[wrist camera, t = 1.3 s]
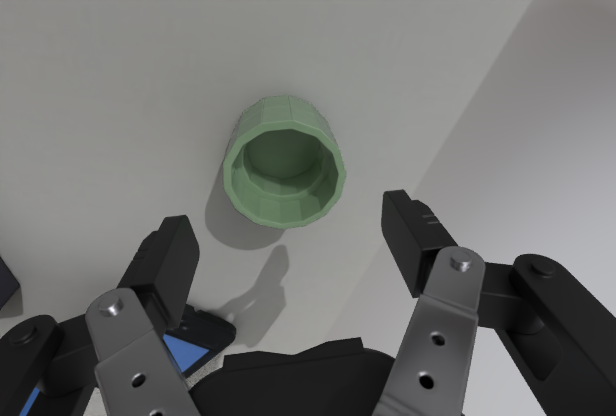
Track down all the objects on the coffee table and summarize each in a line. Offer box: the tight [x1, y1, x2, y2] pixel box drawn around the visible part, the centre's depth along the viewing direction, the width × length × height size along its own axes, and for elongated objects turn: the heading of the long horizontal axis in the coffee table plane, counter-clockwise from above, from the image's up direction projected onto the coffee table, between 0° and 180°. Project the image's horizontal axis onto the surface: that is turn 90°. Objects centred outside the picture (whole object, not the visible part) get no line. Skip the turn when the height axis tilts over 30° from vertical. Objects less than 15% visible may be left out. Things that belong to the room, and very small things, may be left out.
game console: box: [20, 304, 236, 416], centre depth 25 cm, size 16×14×9 cm
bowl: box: [223, 95, 346, 229], centre depth 17 cm, size 6×6×5 cm
